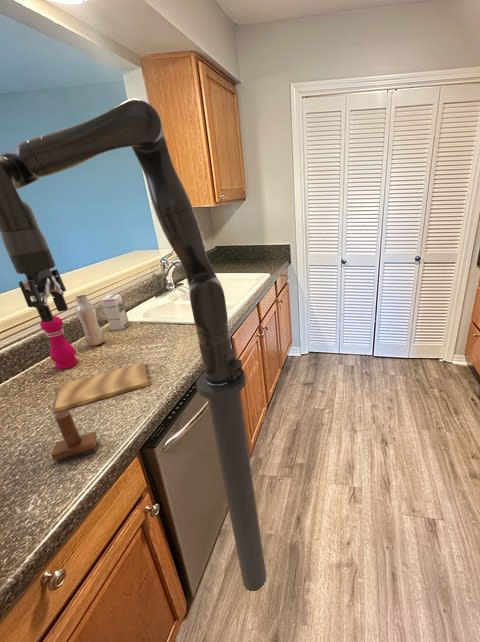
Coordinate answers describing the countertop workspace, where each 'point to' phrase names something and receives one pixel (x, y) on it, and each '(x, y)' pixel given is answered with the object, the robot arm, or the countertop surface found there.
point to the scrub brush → (72, 440)
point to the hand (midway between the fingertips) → (56, 315)
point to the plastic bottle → (89, 321)
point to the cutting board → (101, 386)
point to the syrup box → (115, 312)
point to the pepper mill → (59, 344)
